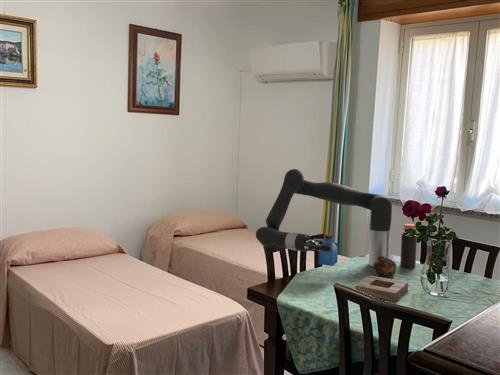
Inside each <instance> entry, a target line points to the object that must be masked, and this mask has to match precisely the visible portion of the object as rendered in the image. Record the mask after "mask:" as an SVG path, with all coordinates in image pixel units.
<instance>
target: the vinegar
mask: <svg viewBox="0 0 500 375" xmlns="http://www.w3.org/2000/svg"><path fill="white" fill-rule="evenodd" d="M409 228H412V229H414V228H415V229H416V224H414V223H404V224H403V230H404V231H403V233H402V234H401V241H400V242H401V243H400V267H401V268H403V269H414V268H416V264H417V263H416V261H417V260H416V259H417V243H418V236H412V237H407V236H405V232H406V229H409Z"/></svg>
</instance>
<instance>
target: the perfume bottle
mask: <svg viewBox="0 0 500 375" xmlns="http://www.w3.org/2000/svg"><path fill="white" fill-rule="evenodd" d="M323 239H324V241H325V242H324V243H322V245H326V246H330V251H329V252H328V251H318V265H321V266H322V265H323V266H327V267H328V266H330V267H333V266H335V265H336V264H337V263H338V253H339V248H338V245H337V246H336V244H335V243H333V242H334V241H333V240H334V239H333V234H324V238H323Z"/></svg>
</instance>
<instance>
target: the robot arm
mask: <svg viewBox="0 0 500 375" xmlns="http://www.w3.org/2000/svg"><path fill="white" fill-rule="evenodd" d="M294 194H297V195H303V196H308V197H312V198H317V199H319V200H324V201H328V202H330V203H334V204H338V205H344V206H353V207H354V206H355V207H360V208H363V209H367V210H369V211H370V222H369V240H368V242H369V243H368V244H369V245H368V265H369V266H370V267H372V268H374V263H375V262H376V261H377V258H378V257H379V256H384V257H385V258H388V259H390V241H391V240H390V239H391V238H390V237H391V225H392V214H393V213H392V212H393V209H392V208H393V207H392V206H393V205H392V202H391V200H390V199H389V197H388V196H386V195H384V194H378V193H372V192H365V191H362V190H359V189H356V188H353V187H351V186H348V185H344V184H341V183H336V182H332V181H331V182H330V181H325V182H324V181H323V182H315V181H309V180H306V179H305V178H304V174H303V172H302V171H301V170H299V169H298V168H291V169H288V171H286V173H285V174H284V178H283V182H282V186H281V189H280V191H279V193H278V195H277V197H276V199H275V201H274V203H273V204H272V207H271V209H270V211H269V213H268V215H267V217H266V220H265V224H266V226H262V227H259V228H258V229H257V230H256V232H255V238H256V239H257V241H258V242H259V243H260V244H261V245H262V246H263V247H264V246H266V247H267V246H270V247H269V248H272V247H273V246H274V245H275V246H277V248H282V249H288V250H291V251H297V252H303V253H307V252H309V251H310V252H315V253H316V252H319V251H328V252H329V251H330V246H326V245H322V243H324V242H325V241H324V238H319V237H318V238H313V239H312V238H311V235H309V234H307V233H299V232H286V231H280V227H281V225H282V222H283V221H284V219H285V216H286V214H287V211H288V208H289V206H290V203H291V200H292V199H293V197H294ZM332 242H333V243H335V244H336V246H337V247H338V243H337V242H335V241H332ZM272 245H273V246H272ZM266 247H265V248H266Z"/></svg>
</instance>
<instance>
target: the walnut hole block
mask: <svg viewBox="0 0 500 375" xmlns="http://www.w3.org/2000/svg"><path fill="white" fill-rule="evenodd" d="M355 289H356V290H358V291H361V292H364V293H366V294H368V295H371V296H373V297H376V298H375V299H377V298H379V300H382V301H383V300H384V301H387V302H393V303H396V302H398V301H399V300H400V298H402V297H403V296H404V295H405V294H406V293H407V292H408V291H409V281H404V280H397V279H393V278H386V277H380V276H375V275H368V276H367V277H365V278H364V279H362V280H361V281H359V282H357V283H356V284H355V286H354V290H355Z"/></svg>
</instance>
